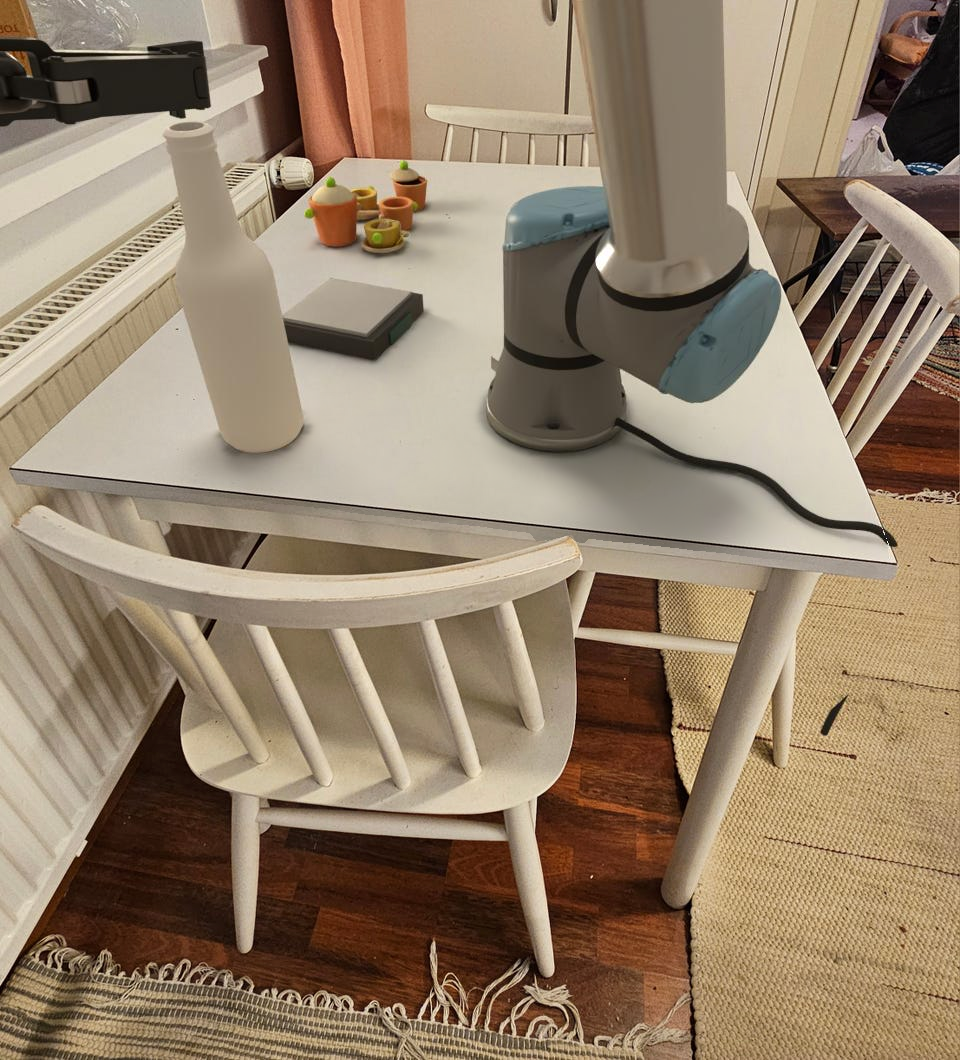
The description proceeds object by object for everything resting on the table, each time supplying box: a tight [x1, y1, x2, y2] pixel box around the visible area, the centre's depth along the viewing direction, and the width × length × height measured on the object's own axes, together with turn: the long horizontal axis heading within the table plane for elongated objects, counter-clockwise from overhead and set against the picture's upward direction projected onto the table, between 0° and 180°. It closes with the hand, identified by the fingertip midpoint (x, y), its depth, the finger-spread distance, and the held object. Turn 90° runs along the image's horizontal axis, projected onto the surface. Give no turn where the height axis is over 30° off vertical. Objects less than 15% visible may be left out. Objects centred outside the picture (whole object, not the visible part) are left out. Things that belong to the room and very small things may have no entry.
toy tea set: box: [303, 160, 428, 254], centre depth 122 cm, size 26×16×10 cm, turn 168°
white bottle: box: [162, 120, 305, 454], centre depth 71 cm, size 9×9×30 cm
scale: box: [282, 277, 425, 361], centre depth 98 cm, size 14×14×3 cm
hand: (94, 55), depth 48 cm, fingers open, 13 cm apart
